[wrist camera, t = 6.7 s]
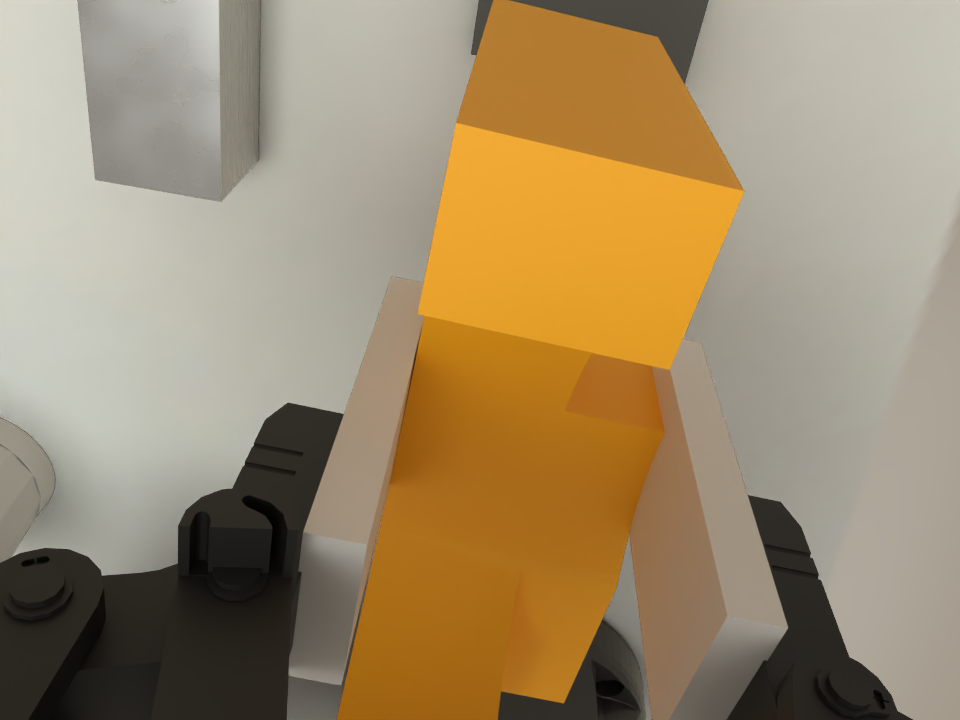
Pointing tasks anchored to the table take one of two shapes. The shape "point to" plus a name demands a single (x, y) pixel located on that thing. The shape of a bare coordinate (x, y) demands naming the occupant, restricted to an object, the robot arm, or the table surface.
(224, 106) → the grey rectangular bar
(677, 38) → the pad
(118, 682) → the robot arm
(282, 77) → the table surface
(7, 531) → the cup
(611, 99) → the pipe clamp
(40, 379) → the table surface
